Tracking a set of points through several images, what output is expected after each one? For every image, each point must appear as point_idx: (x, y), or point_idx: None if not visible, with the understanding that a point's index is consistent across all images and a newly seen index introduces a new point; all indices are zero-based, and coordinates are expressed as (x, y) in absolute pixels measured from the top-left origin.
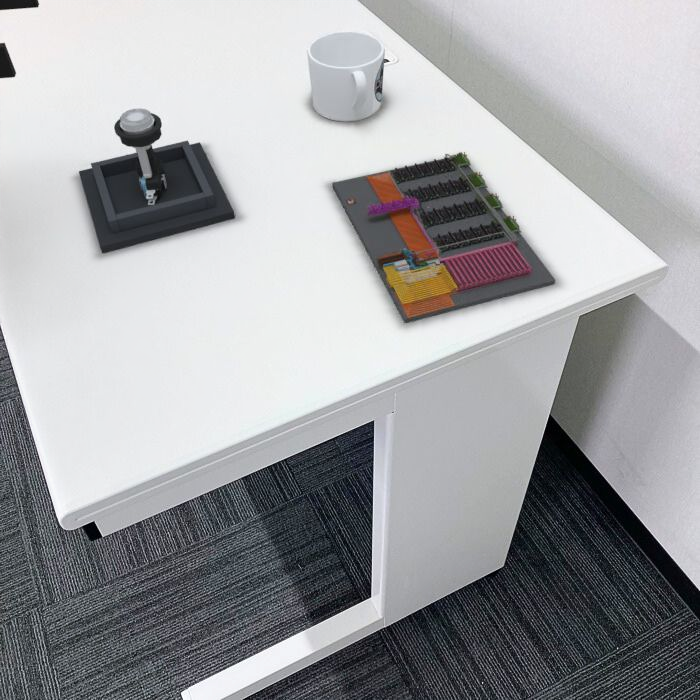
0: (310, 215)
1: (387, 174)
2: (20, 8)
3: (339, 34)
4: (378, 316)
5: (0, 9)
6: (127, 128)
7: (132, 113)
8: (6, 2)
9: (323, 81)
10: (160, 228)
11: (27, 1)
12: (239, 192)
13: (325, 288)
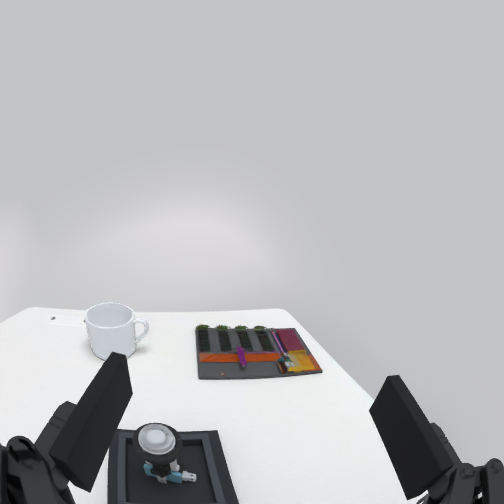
0: (225, 395)
1: (201, 354)
2: (122, 415)
3: (89, 311)
4: (317, 380)
5: (110, 442)
6: (168, 448)
7: (148, 437)
8: (113, 423)
9: (119, 337)
10: (227, 477)
11: (126, 395)
12: (184, 425)
13: (297, 398)
